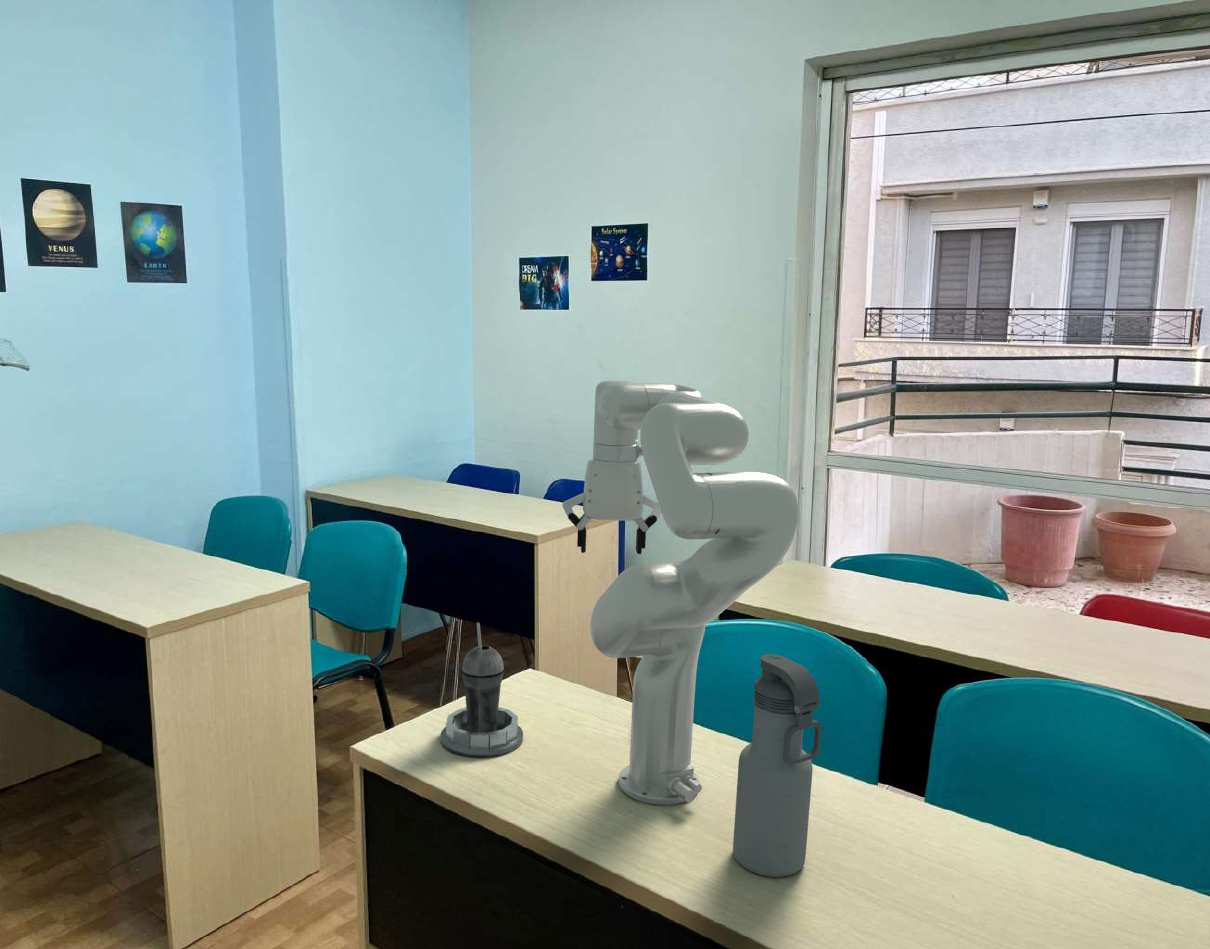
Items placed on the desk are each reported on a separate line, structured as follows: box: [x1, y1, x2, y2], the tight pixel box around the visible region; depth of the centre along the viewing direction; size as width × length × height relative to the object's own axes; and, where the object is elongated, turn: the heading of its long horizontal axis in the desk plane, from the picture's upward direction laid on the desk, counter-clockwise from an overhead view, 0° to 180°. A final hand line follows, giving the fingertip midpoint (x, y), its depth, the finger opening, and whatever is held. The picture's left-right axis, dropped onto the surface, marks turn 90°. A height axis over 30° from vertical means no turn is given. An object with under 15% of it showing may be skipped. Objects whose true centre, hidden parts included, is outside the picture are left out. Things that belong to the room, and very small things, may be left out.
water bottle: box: [732, 653, 823, 878], centre depth 125 cm, size 10×10×28 cm
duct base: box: [440, 706, 524, 759], centre depth 160 cm, size 14×14×4 cm
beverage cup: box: [460, 622, 505, 733], centre depth 158 cm, size 7×7×20 cm
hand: (610, 551), depth 161 cm, fingers open, 9 cm apart
